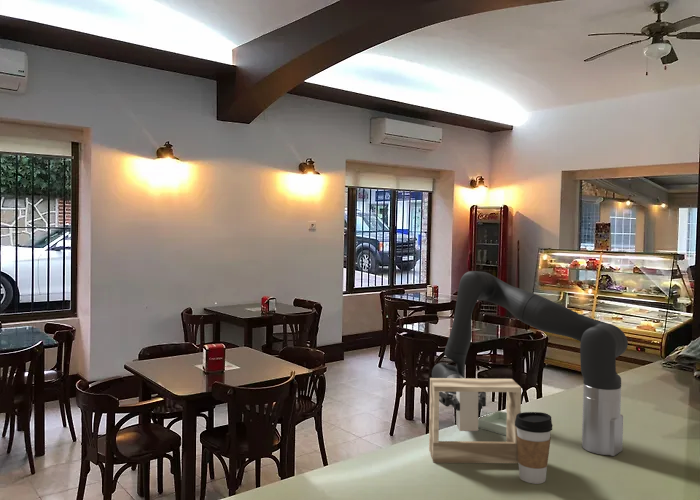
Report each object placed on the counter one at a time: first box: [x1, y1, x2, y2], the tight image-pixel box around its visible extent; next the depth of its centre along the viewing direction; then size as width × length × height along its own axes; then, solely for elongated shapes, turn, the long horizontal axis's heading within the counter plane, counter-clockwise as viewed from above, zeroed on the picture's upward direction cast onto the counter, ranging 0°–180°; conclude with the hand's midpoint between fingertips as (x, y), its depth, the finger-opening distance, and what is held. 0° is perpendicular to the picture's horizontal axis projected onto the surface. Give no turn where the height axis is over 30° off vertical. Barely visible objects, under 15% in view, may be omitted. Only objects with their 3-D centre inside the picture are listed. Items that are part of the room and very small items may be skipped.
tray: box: [478, 410, 507, 437], centre depth 167 cm, size 12×12×2 cm
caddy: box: [455, 392, 479, 432], centre depth 155 cm, size 5×5×13 cm
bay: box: [428, 377, 522, 464], centre depth 146 cm, size 8×22×19 cm, turn 90°
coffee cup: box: [515, 411, 553, 485], centre depth 133 cm, size 8×8×15 cm
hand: (469, 406), depth 152 cm, fingers closed on caddy, 5 cm apart
